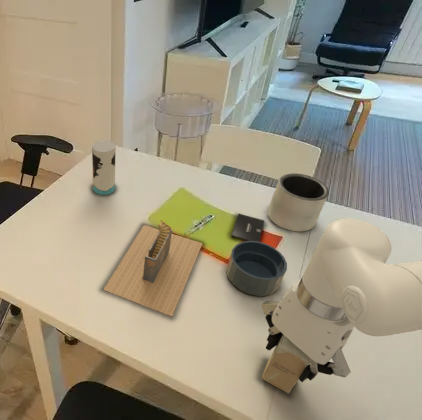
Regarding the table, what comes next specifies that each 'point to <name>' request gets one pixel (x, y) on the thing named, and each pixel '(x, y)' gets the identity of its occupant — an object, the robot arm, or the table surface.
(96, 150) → the white patterned canister
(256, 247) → the round storage tub
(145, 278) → the architectural model on board
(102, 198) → the table surface
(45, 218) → the table surface
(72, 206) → the table surface
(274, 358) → the box
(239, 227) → the solid state drive
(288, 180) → the planter
